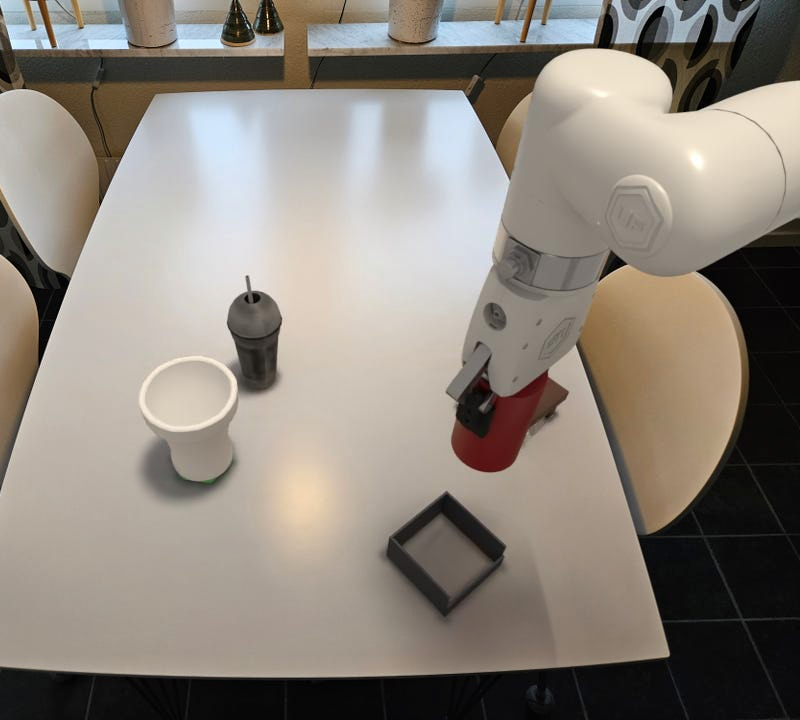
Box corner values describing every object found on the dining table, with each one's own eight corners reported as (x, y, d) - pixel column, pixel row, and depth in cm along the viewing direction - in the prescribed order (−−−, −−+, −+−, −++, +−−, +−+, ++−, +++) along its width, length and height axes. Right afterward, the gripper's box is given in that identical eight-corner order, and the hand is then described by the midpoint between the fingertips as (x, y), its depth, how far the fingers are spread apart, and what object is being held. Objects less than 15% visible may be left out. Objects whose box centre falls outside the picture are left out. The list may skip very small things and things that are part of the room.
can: (531, 448, 62) (564, 372, 54) (488, 485, 59) (515, 411, 51) (480, 407, 65) (503, 330, 57) (437, 441, 63) (455, 365, 54)
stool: (558, 414, 89) (569, 391, 85) (512, 453, 85) (521, 430, 81) (502, 372, 94) (510, 349, 91) (455, 406, 90) (461, 383, 86)
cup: (142, 464, 83) (117, 395, 73) (205, 412, 89) (191, 340, 78) (202, 515, 78) (184, 448, 68) (265, 457, 84) (258, 387, 74)
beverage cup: (290, 362, 95) (285, 255, 80) (279, 400, 90) (272, 293, 76) (242, 356, 96) (228, 248, 81) (229, 393, 91) (212, 286, 76)
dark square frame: (500, 565, 74) (509, 547, 71) (444, 617, 70) (451, 600, 67) (441, 509, 79) (446, 490, 76) (385, 555, 75) (389, 536, 72)
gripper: (514, 331, 39) (464, 488, 52) (666, 222, 47) (589, 383, 60) (424, 270, 43) (399, 430, 56) (578, 179, 50) (524, 339, 64)
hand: (497, 405), depth 58 cm, fingers closed on can, 6 cm apart
